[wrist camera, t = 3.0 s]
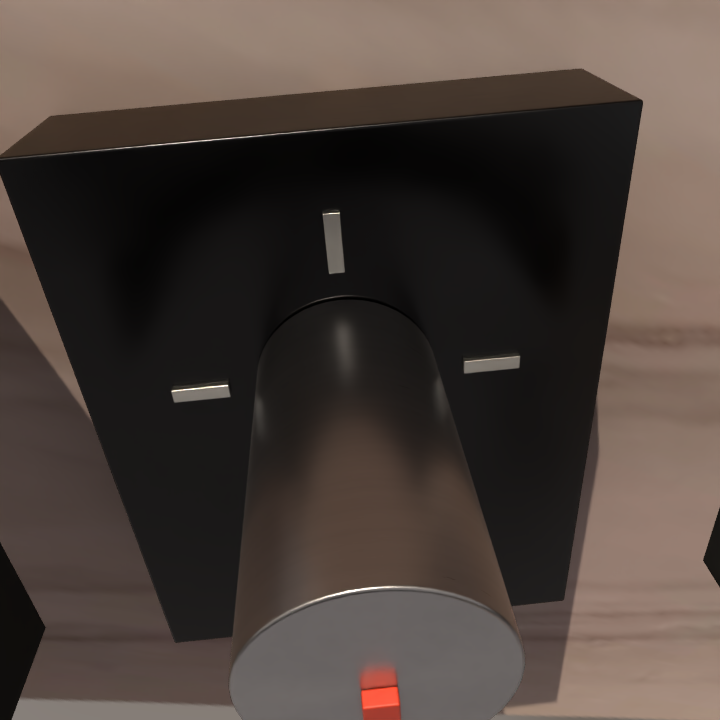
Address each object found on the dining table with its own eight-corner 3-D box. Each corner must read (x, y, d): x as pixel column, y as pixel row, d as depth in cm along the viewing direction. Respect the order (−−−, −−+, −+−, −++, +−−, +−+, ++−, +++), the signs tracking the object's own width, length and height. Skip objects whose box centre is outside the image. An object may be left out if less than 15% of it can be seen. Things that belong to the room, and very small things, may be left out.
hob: (48, 115, 16) (-11, 161, 13) (583, 67, 16) (648, 101, 13) (189, 559, 25) (173, 648, 22) (533, 522, 25) (566, 605, 22)
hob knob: (243, 307, 15) (196, 629, 8) (434, 289, 15) (544, 591, 8) (270, 452, 18) (252, 794, 11) (435, 436, 18) (521, 764, 11)
